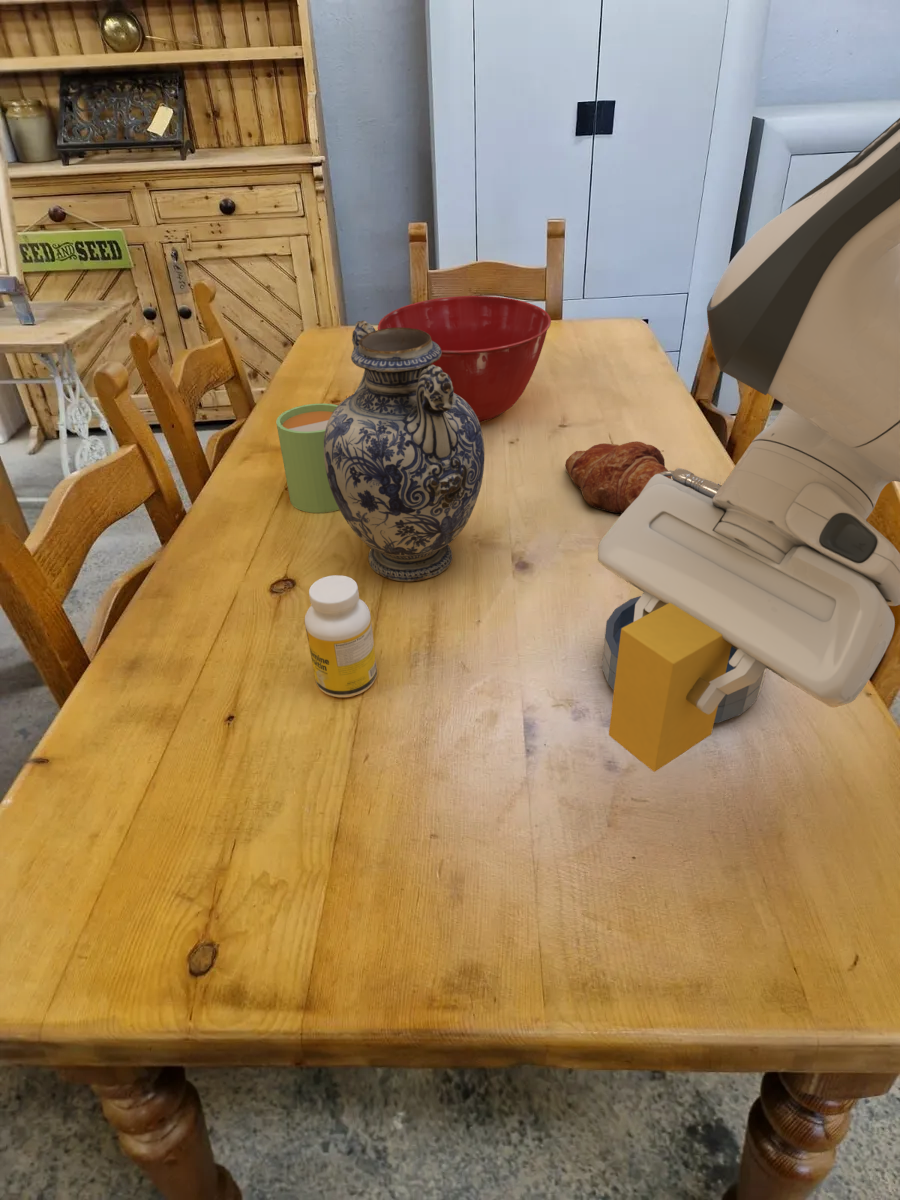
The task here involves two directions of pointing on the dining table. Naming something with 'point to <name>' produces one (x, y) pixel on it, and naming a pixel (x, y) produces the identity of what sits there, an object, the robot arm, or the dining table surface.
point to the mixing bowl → (480, 345)
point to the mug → (306, 456)
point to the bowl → (740, 698)
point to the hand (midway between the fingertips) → (663, 683)
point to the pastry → (614, 473)
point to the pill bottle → (340, 637)
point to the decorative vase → (404, 454)
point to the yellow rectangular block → (664, 684)
